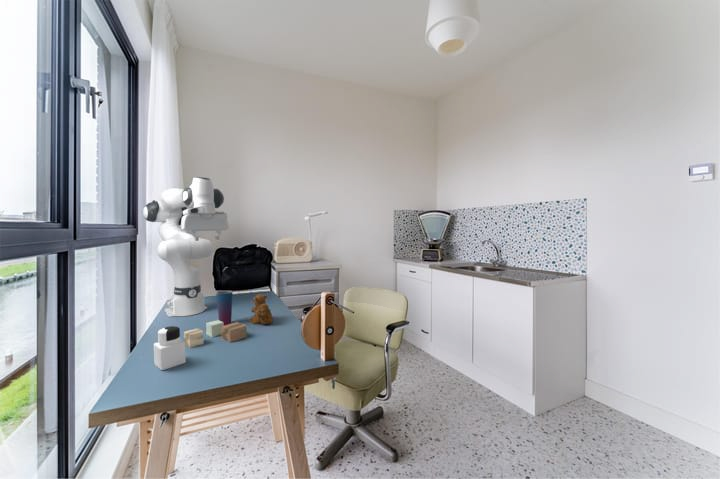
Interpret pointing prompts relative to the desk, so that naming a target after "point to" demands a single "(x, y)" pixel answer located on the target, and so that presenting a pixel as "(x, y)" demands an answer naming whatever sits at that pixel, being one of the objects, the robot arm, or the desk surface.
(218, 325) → the sage cube
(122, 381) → the desk surface
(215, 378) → the desk surface
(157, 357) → the medicine bottle
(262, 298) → the brown teddy bear
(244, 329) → the walnut base
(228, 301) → the cup
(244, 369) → the desk surface
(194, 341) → the oak cube
